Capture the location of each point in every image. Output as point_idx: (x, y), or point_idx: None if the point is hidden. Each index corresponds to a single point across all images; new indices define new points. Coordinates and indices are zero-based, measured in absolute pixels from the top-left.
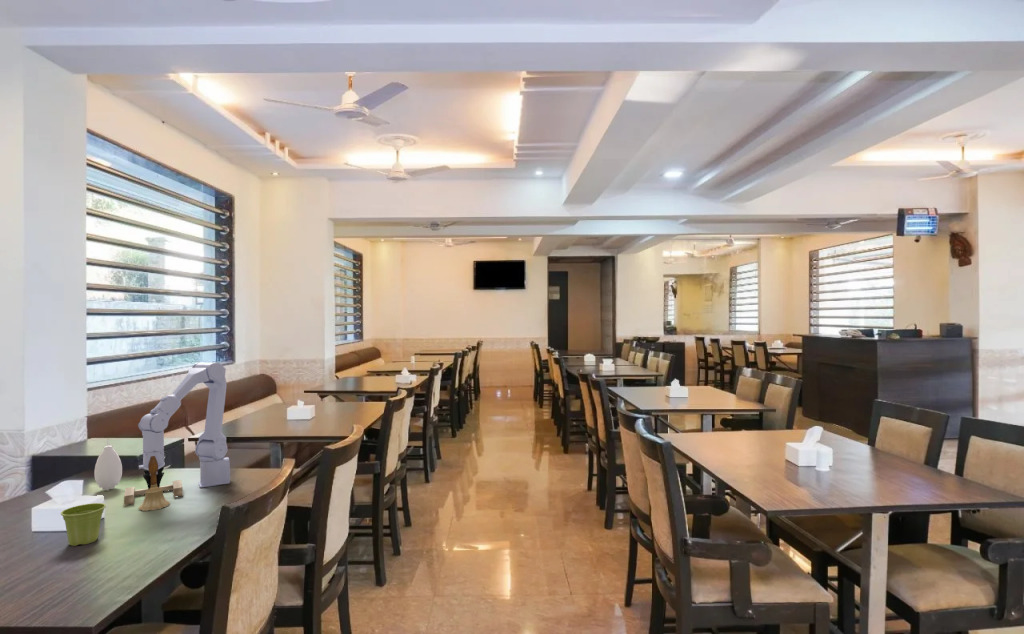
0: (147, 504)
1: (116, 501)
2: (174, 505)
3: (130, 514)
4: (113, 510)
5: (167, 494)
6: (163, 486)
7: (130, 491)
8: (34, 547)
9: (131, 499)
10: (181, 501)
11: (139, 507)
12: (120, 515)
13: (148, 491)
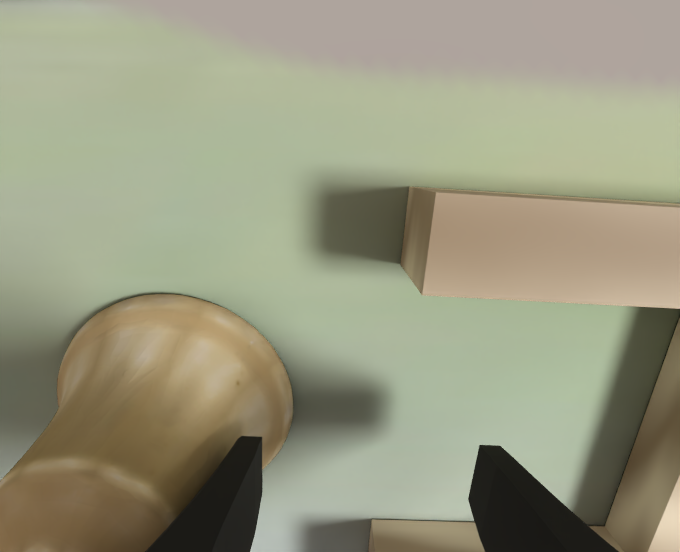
0: (69, 381)
1: (658, 121)
2: None
3: (33, 229)
4: (293, 86)
5: None
6: (676, 516)
7: (635, 268)
8: None
9: (413, 259)
10: None
11: (147, 308)
12: (45, 146)
13: (3, 496)
